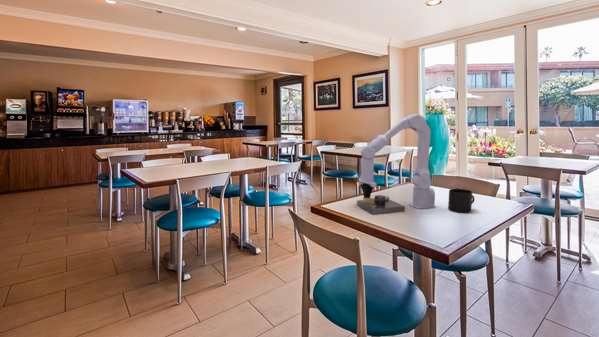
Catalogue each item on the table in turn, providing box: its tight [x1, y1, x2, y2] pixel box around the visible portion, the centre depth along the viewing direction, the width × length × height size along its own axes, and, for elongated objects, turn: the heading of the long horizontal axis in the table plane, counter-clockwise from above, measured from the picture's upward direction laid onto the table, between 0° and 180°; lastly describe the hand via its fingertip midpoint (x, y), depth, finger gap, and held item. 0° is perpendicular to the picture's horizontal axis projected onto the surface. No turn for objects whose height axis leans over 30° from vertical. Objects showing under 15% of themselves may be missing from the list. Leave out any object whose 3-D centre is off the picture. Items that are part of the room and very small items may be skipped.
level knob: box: [362, 194, 386, 204], centre depth 151 cm, size 10×5×3 cm, turn 75°
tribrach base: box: [356, 196, 406, 215], centre depth 151 cm, size 16×16×4 cm
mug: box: [448, 188, 475, 214], centre depth 146 cm, size 9×12×9 cm
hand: (366, 199), depth 154 cm, fingers closed
